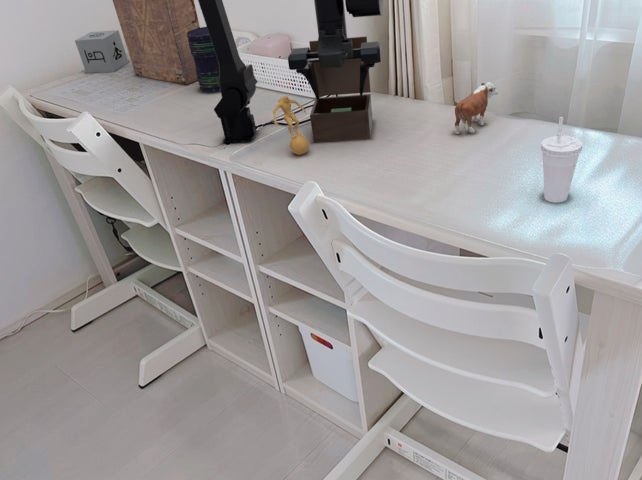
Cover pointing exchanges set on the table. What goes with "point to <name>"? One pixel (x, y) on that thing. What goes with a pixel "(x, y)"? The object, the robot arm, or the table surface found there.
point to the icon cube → (101, 51)
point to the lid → (341, 74)
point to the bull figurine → (474, 106)
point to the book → (159, 37)
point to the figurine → (297, 142)
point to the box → (341, 118)
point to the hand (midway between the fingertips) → (339, 97)
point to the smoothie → (559, 164)
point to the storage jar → (204, 60)
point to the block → (341, 110)
